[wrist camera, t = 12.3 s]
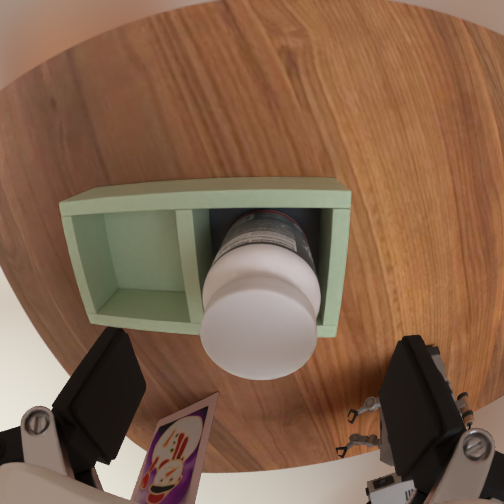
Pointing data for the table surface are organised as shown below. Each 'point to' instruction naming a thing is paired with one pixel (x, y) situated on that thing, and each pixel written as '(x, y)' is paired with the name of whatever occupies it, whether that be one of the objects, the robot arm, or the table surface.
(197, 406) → the greeting card
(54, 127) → the table surface
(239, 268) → the pill bottle
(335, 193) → the holder
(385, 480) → the figurine
